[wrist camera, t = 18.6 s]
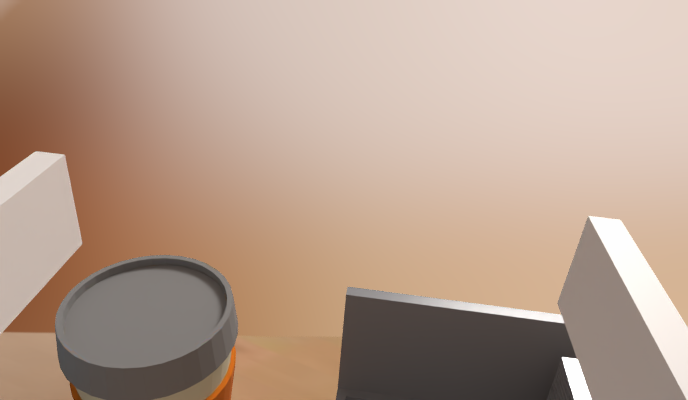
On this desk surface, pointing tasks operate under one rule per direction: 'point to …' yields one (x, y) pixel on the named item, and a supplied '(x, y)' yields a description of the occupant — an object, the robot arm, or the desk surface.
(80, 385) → the reusable coffee cup
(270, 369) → the desk surface
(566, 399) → the brushed metal block
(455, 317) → the rack
